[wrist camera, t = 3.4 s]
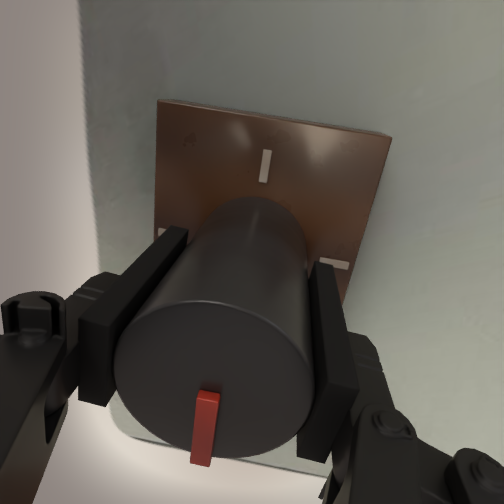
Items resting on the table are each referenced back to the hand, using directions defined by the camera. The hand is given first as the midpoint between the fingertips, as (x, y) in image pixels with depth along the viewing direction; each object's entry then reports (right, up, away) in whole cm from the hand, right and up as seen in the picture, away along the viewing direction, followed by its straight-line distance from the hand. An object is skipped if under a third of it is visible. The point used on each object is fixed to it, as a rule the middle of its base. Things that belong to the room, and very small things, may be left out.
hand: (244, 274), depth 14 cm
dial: (0, +1, +3) cm, 3 cm away
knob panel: (+1, +2, +4) cm, 5 cm away
